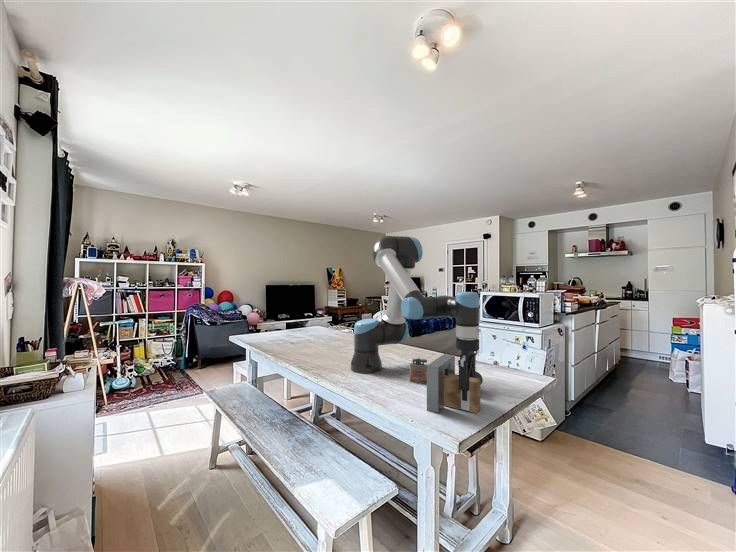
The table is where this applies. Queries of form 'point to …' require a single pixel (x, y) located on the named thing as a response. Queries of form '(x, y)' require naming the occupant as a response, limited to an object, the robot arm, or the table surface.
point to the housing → (438, 381)
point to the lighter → (418, 371)
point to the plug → (454, 394)
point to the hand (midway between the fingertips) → (467, 406)
